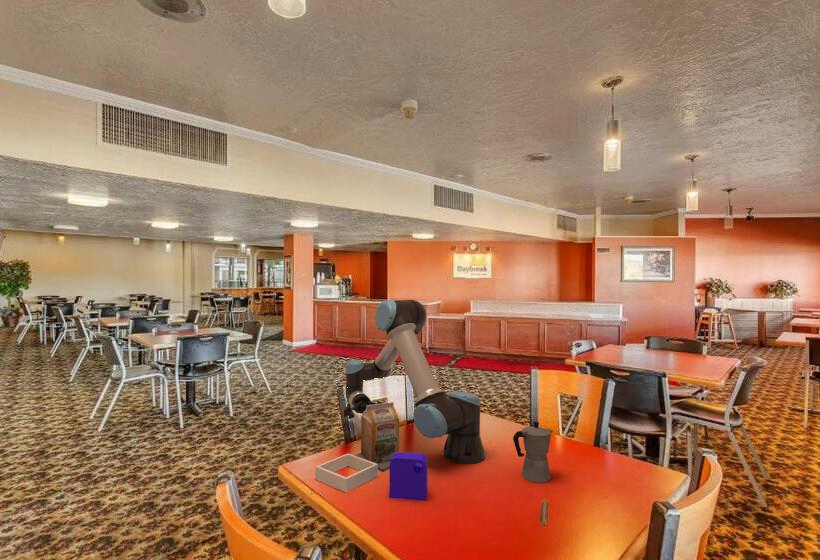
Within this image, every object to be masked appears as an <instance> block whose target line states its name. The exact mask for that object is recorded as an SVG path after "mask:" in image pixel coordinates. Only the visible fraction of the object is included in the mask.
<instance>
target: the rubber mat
mask: <svg viewBox="0 0 820 560" xmlns="http://www.w3.org/2000/svg"><path fill="white" fill-rule="evenodd" d="M353 455H354V456H357V457H359V458H362V459H365V458H364V457H363V456H362V454H361V452H360V453H357V454H353ZM365 460H366V459H365ZM390 462H391V461H389V462H383V463H378V471H380V472H385V471H387V470H390Z"/></svg>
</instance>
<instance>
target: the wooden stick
mask: <svg viewBox="0 0 820 560" xmlns="http://www.w3.org/2000/svg"><path fill="white" fill-rule="evenodd" d="M540 503H541V504H540V511H539V512H540V513H539V515H540V516H539V523H540V524H542V525H541V526H544V525H547V523H548V524H549V511H550V510H549V502H548V500H547V498H546V497H544V499H543V500H542V501H541V502H540ZM548 510H549V511H548Z"/></svg>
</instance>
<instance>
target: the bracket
mask: <svg viewBox="0 0 820 560" xmlns="http://www.w3.org/2000/svg"><path fill="white" fill-rule="evenodd" d="M428 461H429V460H428V458H427V455H425V454H423V453H417V452H416V453H415V452H413V453H412V452H400V451H399V452H398V453H395V454H394V455H393V457H392V459H391V462H390V468H389V469H388V471H389V473H388V474H389V476H388V477H389V481H388V483H389V487H388V489H389V490H388V491H389V493H388V499H398V500H399V499H400V500H413V501H414V500H415V501H427V499H428V498H427V497H428V480H429V479H428V476H429V475H428V470H429V468H428V463H429V462H428Z"/></svg>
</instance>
